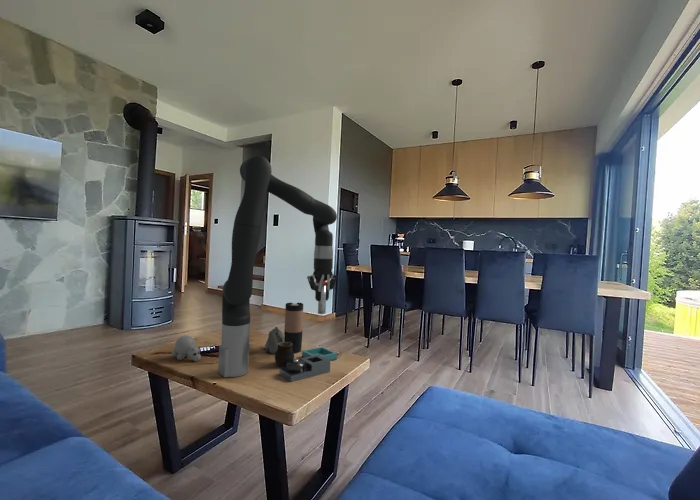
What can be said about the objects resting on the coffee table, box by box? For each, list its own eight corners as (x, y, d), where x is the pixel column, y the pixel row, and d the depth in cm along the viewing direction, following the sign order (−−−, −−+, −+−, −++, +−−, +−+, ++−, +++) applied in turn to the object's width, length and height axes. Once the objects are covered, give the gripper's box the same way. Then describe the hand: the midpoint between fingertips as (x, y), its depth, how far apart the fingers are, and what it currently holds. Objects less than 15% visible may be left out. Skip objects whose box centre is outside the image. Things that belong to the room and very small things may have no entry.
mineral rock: (279, 343, 153) (280, 321, 153) (296, 348, 147) (297, 325, 147) (256, 350, 143) (257, 326, 143) (273, 355, 136) (274, 331, 136)
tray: (315, 364, 128) (316, 357, 128) (301, 356, 136) (302, 350, 136) (336, 359, 135) (336, 353, 135) (322, 352, 142) (322, 346, 142)
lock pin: (320, 314, 132) (321, 281, 131) (314, 312, 135) (315, 279, 135) (329, 313, 134) (330, 280, 134) (323, 311, 138) (324, 279, 137)
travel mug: (292, 354, 138) (294, 306, 138) (279, 350, 143) (281, 303, 143) (305, 350, 144) (307, 304, 144) (293, 346, 149) (294, 301, 149)
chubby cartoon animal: (187, 371, 123) (194, 351, 122) (167, 353, 128) (173, 334, 126) (203, 365, 130) (210, 346, 128) (183, 348, 135) (189, 330, 133)
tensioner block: (291, 381, 111) (291, 365, 111) (279, 374, 117) (279, 358, 117) (330, 371, 121) (330, 356, 121) (317, 365, 128) (317, 350, 127)
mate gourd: (285, 360, 132) (287, 334, 132) (298, 365, 127) (299, 339, 127) (270, 364, 126) (271, 337, 126) (283, 370, 121) (284, 342, 121)
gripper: (313, 257, 127) (312, 303, 127) (343, 257, 136) (341, 300, 136) (303, 256, 133) (301, 300, 133) (332, 256, 142) (330, 297, 142)
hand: (322, 300), depth 135 cm, fingers closed on lock pin, 3 cm apart
